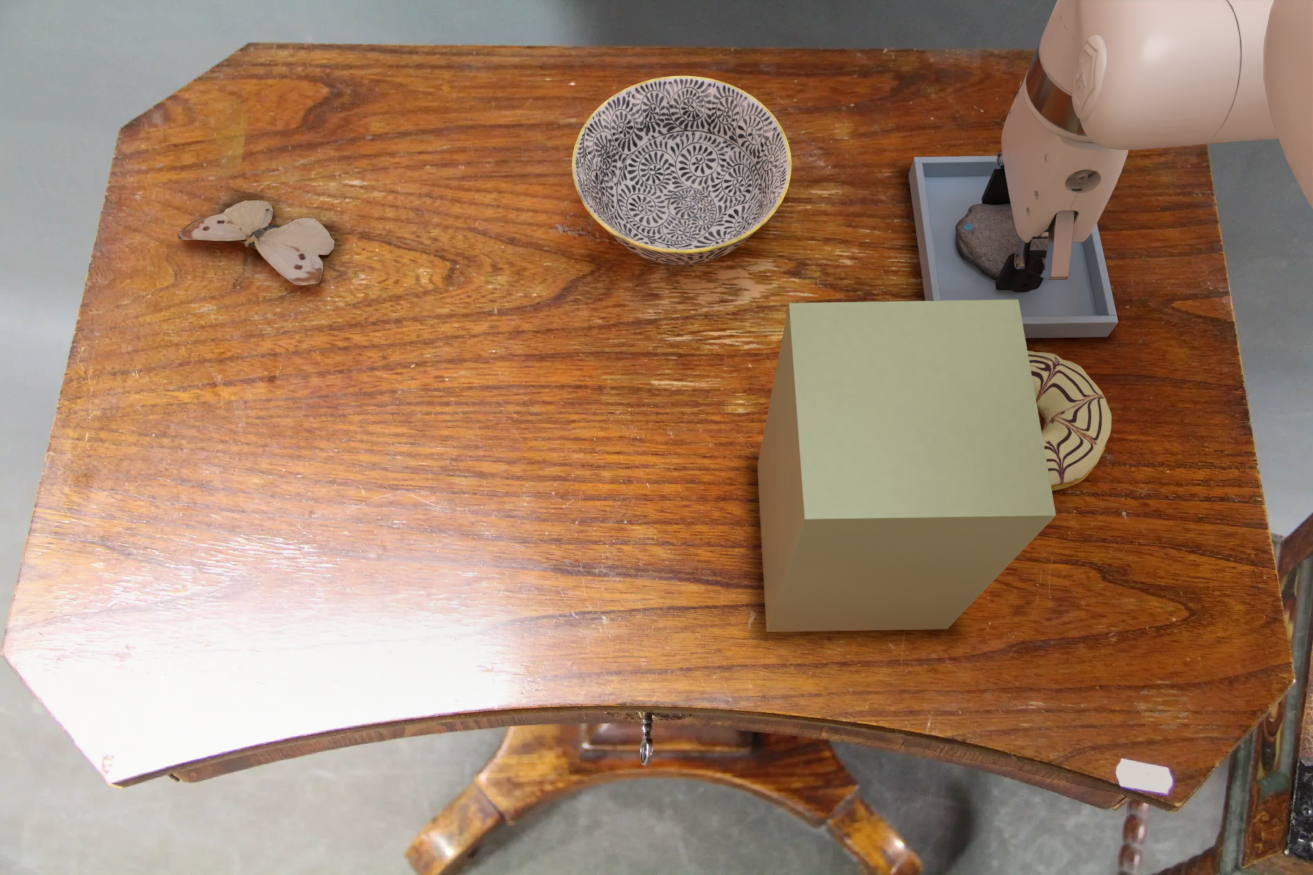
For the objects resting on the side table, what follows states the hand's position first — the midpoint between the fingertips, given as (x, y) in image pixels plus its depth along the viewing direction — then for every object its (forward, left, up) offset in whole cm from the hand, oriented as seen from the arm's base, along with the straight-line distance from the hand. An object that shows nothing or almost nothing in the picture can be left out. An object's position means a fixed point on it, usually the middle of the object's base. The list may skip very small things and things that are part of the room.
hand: (1008, 243), depth 82 cm
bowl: (+4, +25, -1) cm, 25 cm away
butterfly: (+2, +58, -1) cm, 58 cm away
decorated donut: (-15, +1, -1) cm, 15 cm away
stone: (0, 0, -1) cm, 1 cm away
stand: (-23, +14, -1) cm, 27 cm away
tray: (0, 0, -1) cm, 1 cm away
